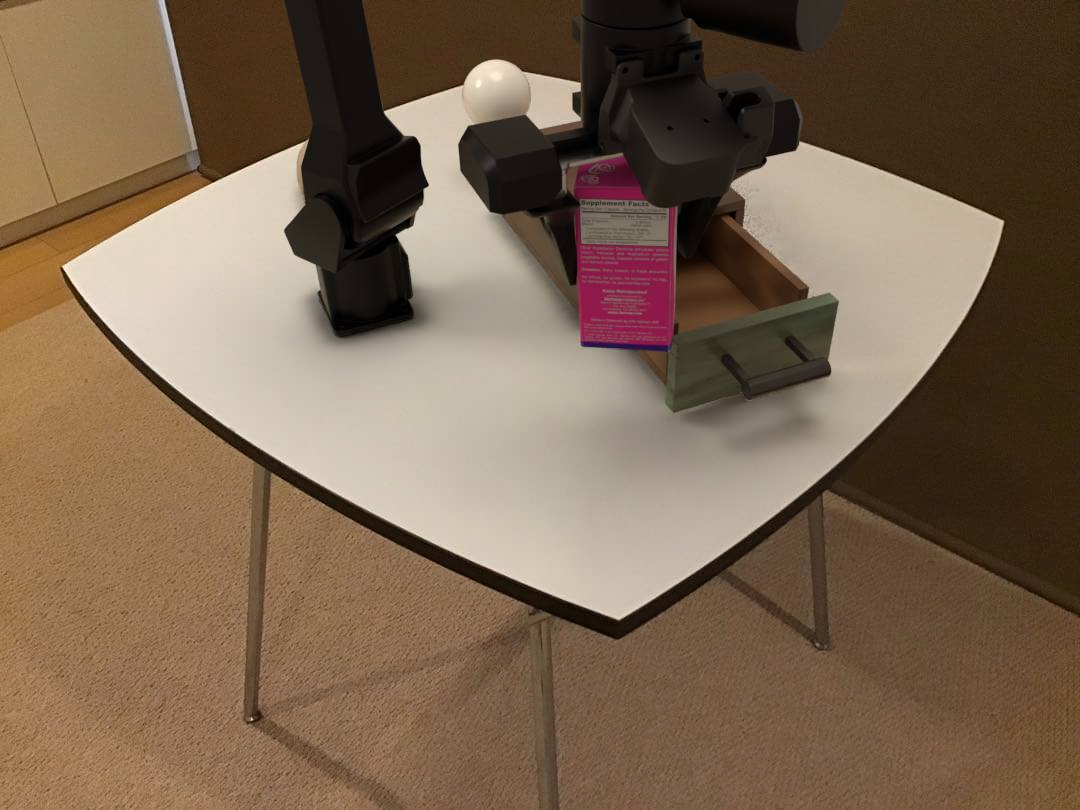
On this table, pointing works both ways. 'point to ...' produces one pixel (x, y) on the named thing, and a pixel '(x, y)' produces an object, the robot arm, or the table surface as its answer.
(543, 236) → the cabinet
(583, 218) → the supplement box
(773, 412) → the table surface
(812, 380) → the drawer
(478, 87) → the lightbulb
